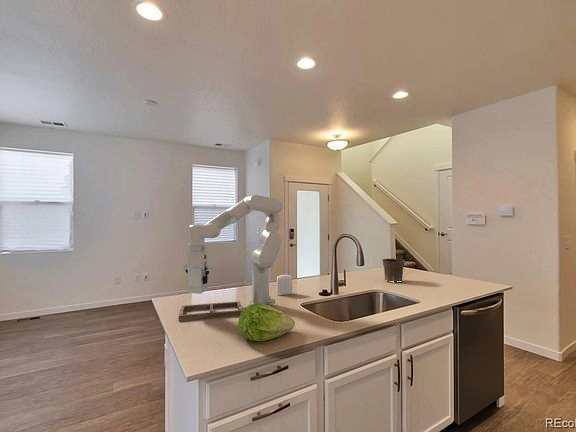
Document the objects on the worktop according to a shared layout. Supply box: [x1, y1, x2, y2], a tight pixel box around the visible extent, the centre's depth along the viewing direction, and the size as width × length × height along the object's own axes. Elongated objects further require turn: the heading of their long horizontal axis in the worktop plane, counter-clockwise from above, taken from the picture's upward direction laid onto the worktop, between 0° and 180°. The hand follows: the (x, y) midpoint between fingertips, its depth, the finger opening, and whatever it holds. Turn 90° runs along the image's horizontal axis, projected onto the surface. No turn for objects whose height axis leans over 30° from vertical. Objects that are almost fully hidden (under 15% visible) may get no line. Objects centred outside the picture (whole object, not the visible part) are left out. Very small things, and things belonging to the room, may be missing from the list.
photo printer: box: [276, 274, 293, 296], centre depth 188 cm, size 10×4×12 cm, turn 107°
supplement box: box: [187, 267, 209, 295], centre depth 150 cm, size 7×7×13 cm
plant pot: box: [381, 258, 405, 282], centre depth 224 cm, size 16×16×16 cm
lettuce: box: [237, 303, 296, 342], centre depth 123 cm, size 15×24×16 cm
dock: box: [178, 301, 243, 322], centre depth 152 cm, size 16×30×2 cm, turn 105°
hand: (198, 282), depth 150 cm, fingers closed on supplement box, 8 cm apart
